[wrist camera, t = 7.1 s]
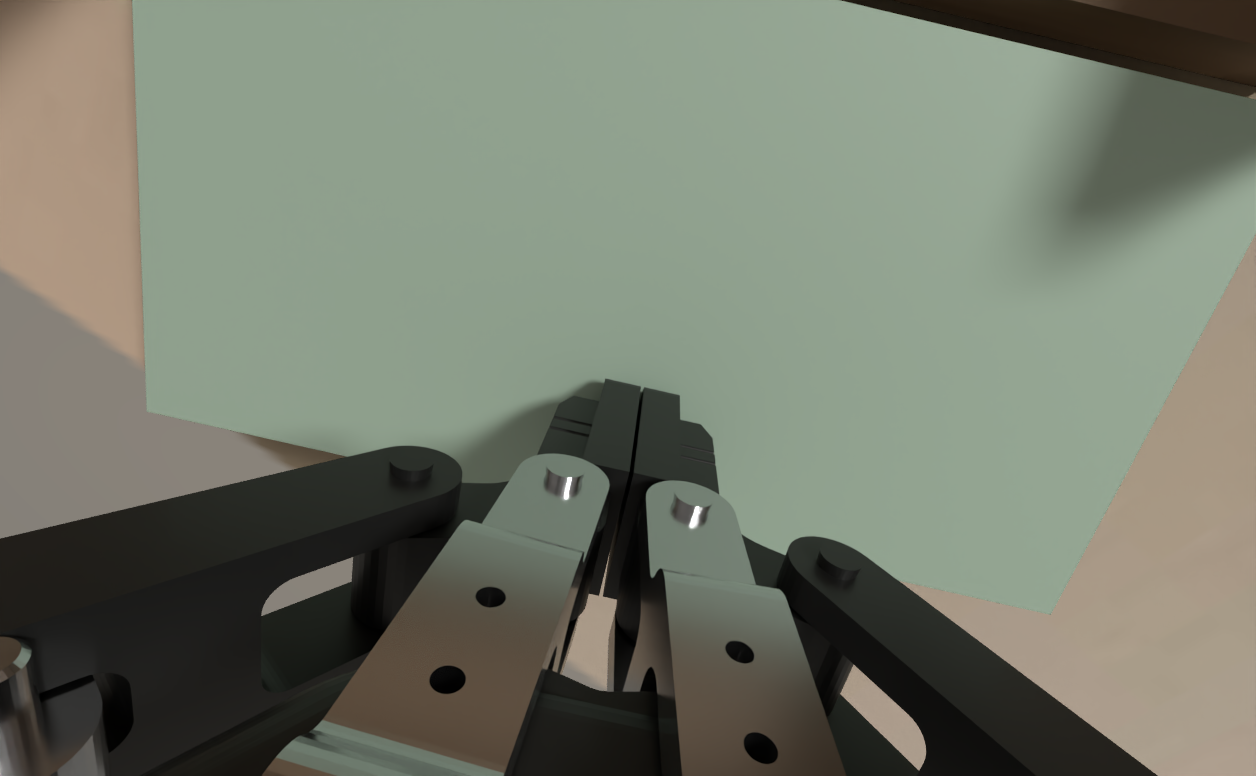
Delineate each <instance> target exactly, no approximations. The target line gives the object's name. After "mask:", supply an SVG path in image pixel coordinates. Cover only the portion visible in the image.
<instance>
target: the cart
mask: <svg viewBox="0 0 1256 776" xmlns="http://www.w3.org/2000/svg"><path fill="white" fill-rule="evenodd" d="M894 1H899V2H903V3H907V4H911V5H915V6H920V7H924V8H928V9H932V10H936V11H940V12H945V13H949V14H953V15H957V16H961V17H965V18H970V19H974V20H978V21H982V22H986V23H991V24H995V25H999V26H1003V27H1007V28H1011V29H1016V30H1020V31H1024V32H1028V33H1032V34H1037V35H1041V36H1045V37H1049V38H1053V39H1057V40H1062V41H1066V42H1070V43H1074V44H1078V45H1082V46H1087V47H1091V48H1095V49H1099V50H1103V51H1108V52H1112V53H1116V54H1120V55H1124V56H1128V57H1133V58H1137V59H1141V60H1145V61H1149V62H1153V63H1158V64H1162V65H1166V66H1170V67H1174V68H1179V69H1183V70H1187V71H1191V72H1195V73H1199V74H1204V75H1208V76H1212V77H1216V78H1220V79H1224V80H1229V81H1233V82H1237V83H1241V84H1245V85H1250V86H1254V87H1256V0H894Z"/></svg>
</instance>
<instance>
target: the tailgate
mask: <svg viewBox="0 0 1256 776" xmlns="http://www.w3.org/2000/svg"><path fill="white" fill-rule="evenodd" d="M132 10H133V38H134V66H135V95H136V123H137V151H138V180H139V208H140V236H141V265H142V293H143V321H144V349H145V378H146V404H147V405H146V406H147V412H151V413H156V414H160V415H165V416H169V417H174V418H178V419H183V420H187V421H191V422H196V423H200V424H205V425H209V426H214V427H218V428H223V429H227V430H231V431H236V432H240V433H245V434H249V435H254V436H258V437H262V438H267V439H271V440H276V441H280V442H285V443H289V444H294V445H298V446H302V447H307V448H311V449H316V450H320V451H325V452H329V453H334V454H338V455H343V456H347V457H349V456H353V455H357V454H362V453H366V452H370V451H374V450H379V449H383V448H388V447H393V446H420V447H427V448H431V449H435V450H438V451H440V452H443V453H445V454H447V455H449V456H450V457H452V458H453V459H455V460H456V461H457V462H458V463H459V465H460V466H461V469H462V482H463V483H500V482H506V481H510V479H511V478H512V476H513V474H514V473H515V471H516V470H517V468H518V467H519V465H520V464H521V463H522V462H523V461H524V460H526V459H528V458H530V457H532V456H536V455H537V454H538V451H539V449H540V447H541V444H542V442H543V440H544V437H545V435H546V433H547V430H548V428H549V426H550V423H551V421H552V419H553V417H554V414H555V412H556V410H557V407H558V405H559V403H561V402H563V401H565V400H567V399H569V398H571V397H572V396H578V397H582V398H587V399H591V400H595V401H599V399H600V396H601V392H602V389H603V385H604V382H605V379H611V380H615V381H619V382H624V383H628V384H633V385H637V386H641V390H640V398H639V403H640V399H641V395H642V392H643V388H644V387H646V388H651V389H655V390H659V391H664V392H668V393H673V394H677V395H680V420H684V421H689V422H693V423H698V424H701V425H702V426H703V427H704V429H705V430H706V431H707V432H708V433H709V435H710V436H711V437H712V438H713V445H714V454H715V462H716V463H715V466H716V470H717V478H718V486H719V495H720V496H722V497H723V498H724V499H725V500H727V501H728V502H729V503H730V505H731V506H732V507H733V509H734V511H735V513H736V516H737V520H738V524H739V527H740V531H741V534H742V535H744V536H745V537H747V538H749V539H750V540H752V541H754V542H756V543H758V544H760V545H762V546H765V547H767V548H769V549H772V550H774V551H776V552H779V553H781V554H783V555H786V553H787V550H788V547H789V545H790V544H791V542H793V541H794V540H795V539H798V538H800V537H806V536H816V537H823V538H828V539H832V540H835V541H838V542H841V543H843V544H845V545H848V546H850V547H852V548H854V549H855V550H857V551H859V552H860V553H862V554H863V555H865V556H866V557H868V558H869V559H870V560H872V561H873V562H874V563H875V564H877V565H878V566H879V567H881V568H882V569H883V570H885V571H886V572H887V573H889V574H890V575H891V576H893V577H894V578H895V579H897V580H898V581H903V582H907V583H912V584H916V585H921V586H925V587H929V588H934V589H938V590H943V591H947V592H952V593H956V594H961V595H965V596H969V597H974V598H978V599H983V600H987V601H992V602H996V603H1001V604H1005V605H1010V606H1014V607H1018V608H1023V609H1027V610H1032V611H1036V612H1041V613H1045V614H1050V615H1051V613H1052V611H1053V609H1054V607H1055V606H1056V604H1057V602H1058V600H1059V598H1060V596H1061V594H1062V592H1063V591H1064V589H1065V587H1066V585H1067V583H1068V581H1069V579H1070V578H1071V576H1072V574H1073V572H1074V570H1075V568H1076V566H1077V565H1078V563H1079V561H1080V559H1081V557H1082V555H1083V553H1084V552H1085V550H1086V548H1087V546H1088V544H1089V542H1090V540H1091V539H1092V537H1093V535H1094V533H1095V531H1096V529H1097V527H1098V526H1099V524H1100V522H1101V520H1102V518H1103V516H1104V514H1105V513H1106V511H1107V509H1108V507H1109V505H1110V503H1111V501H1112V500H1113V498H1114V496H1115V494H1116V492H1117V490H1118V488H1119V487H1120V485H1121V483H1122V481H1123V479H1124V477H1125V475H1126V474H1127V472H1128V470H1129V468H1130V466H1131V464H1132V462H1133V461H1134V459H1135V457H1136V455H1137V453H1138V451H1139V449H1140V448H1141V446H1142V444H1143V442H1144V440H1145V438H1146V436H1147V435H1148V433H1149V431H1150V429H1151V427H1152V425H1153V423H1154V422H1155V420H1156V418H1157V416H1158V414H1159V412H1160V410H1161V409H1162V407H1163V405H1164V403H1165V401H1166V399H1167V397H1168V396H1169V394H1170V392H1171V390H1172V388H1173V386H1174V384H1175V383H1176V381H1177V379H1178V377H1179V375H1180V373H1181V371H1182V370H1183V368H1184V366H1185V364H1186V362H1187V360H1188V358H1189V357H1190V355H1191V353H1192V351H1193V349H1194V347H1195V345H1196V344H1197V342H1198V340H1199V338H1200V336H1201V334H1202V332H1203V331H1204V329H1205V327H1206V325H1207V323H1208V321H1209V319H1210V318H1211V316H1212V314H1213V312H1214V310H1215V308H1216V306H1217V305H1218V303H1219V301H1220V299H1221V297H1222V295H1223V293H1224V292H1225V290H1226V288H1227V286H1228V284H1229V282H1230V280H1231V279H1232V277H1233V275H1234V273H1235V271H1236V269H1237V267H1238V266H1239V264H1240V262H1241V260H1242V258H1243V256H1244V254H1245V252H1246V251H1247V249H1248V247H1249V245H1250V243H1251V241H1252V239H1253V238H1254V236H1255V234H1256V100H1255V99H1251V98H1246V97H1242V96H1238V95H1234V94H1230V93H1225V92H1221V91H1217V90H1213V89H1209V88H1205V87H1200V86H1196V85H1192V84H1188V83H1184V82H1179V81H1175V80H1171V79H1167V78H1163V77H1159V76H1154V75H1150V74H1146V73H1142V72H1138V71H1133V70H1129V69H1125V68H1121V67H1117V66H1113V65H1108V64H1104V63H1100V62H1096V61H1092V60H1087V59H1083V58H1079V57H1075V56H1071V55H1067V54H1062V53H1058V52H1054V51H1050V50H1046V49H1041V48H1037V47H1033V46H1029V45H1025V44H1021V43H1016V42H1012V41H1008V40H1004V39H1000V38H995V37H991V36H987V35H983V34H979V33H975V32H970V31H966V30H962V29H958V28H954V27H949V26H945V25H941V24H937V23H933V22H929V21H924V20H920V19H916V18H912V17H908V16H903V15H899V14H895V13H891V12H887V11H882V10H878V9H874V8H870V7H866V6H862V5H857V4H853V3H849V2H845V1H841V0H132ZM638 407H639V405H638Z"/></svg>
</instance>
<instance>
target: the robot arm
mask: <svg viewBox="0 0 1256 776" xmlns="http://www.w3.org/2000/svg"><path fill="white" fill-rule="evenodd" d="M640 390H641V386H637V385H633V384H628V383H624V382H619V381H615V380H611V379H605V382H604V385H603V389H602V392H601V396H600V399H599V401H595V400H591V399H587V398H582V397H578V396H572V397H571V398H569V399H567V400H565V401H563V402H561V403H559V405H558V407H557V410H556V412H555V414H554V417H553V419H552V421H551V423H550V426H549V428H548V430H547V433H546V435H545V437H544V440H543V442H542V444H541V447H540V449H539V451H538V454H537V455H536V456H532V457H530V458H528V459H526V460H524V461H523V462H522V463H521V464H520V465H519V467H518V468H517V470H516V471H515V473H514V474H513V476H512V478H511V479H510V481H506V482H500V483H462V469H461V466H460V465H459V463H458V462H457V461H456V460H455V459H453V458H452V457H450V456H449V455H447V454H445V453H443V452H440V451H438V450H435V449H431V448H427V447H420V446H393V447H388V448H383V449H379V450H374V451H370V452H366V453H362V454H357V455H353V456H349V457H345V458H340V459H336V460H332V461H328V462H323V463H319V464H315V465H311V466H307V467H302V468H298V469H294V470H290V471H285V472H281V473H277V474H273V475H269V476H264V477H260V478H256V479H251V480H247V481H243V482H239V483H234V484H230V485H226V486H222V487H217V488H214V489H209V490H205V491H201V492H196V493H192V494H188V495H184V496H179V497H175V498H171V499H167V500H162V501H158V502H154V503H150V504H146V505H141V506H137V507H133V508H128V509H124V510H120V511H116V512H111V513H108V514H103V515H99V516H94V517H91V518H86V519H82V520H77V521H73V522H69V523H65V524H61V525H57V526H53V527H48V528H44V529H40V530H35V531H31V532H27V533H23V534H18V535H14V536H10V537H5V538H1V539H0V776H1157V775H1156V774H1155V773H1153V772H1152V771H1151V770H1149V769H1148V768H1147V767H1145V766H1144V765H1143V764H1141V763H1140V762H1139V761H1137V760H1136V759H1135V758H1133V757H1132V756H1131V755H1129V754H1128V753H1127V752H1125V751H1124V750H1123V749H1121V748H1120V747H1119V746H1117V745H1116V744H1115V743H1113V742H1112V741H1111V740H1110V739H1108V738H1107V737H1106V736H1104V735H1103V734H1102V733H1100V732H1099V731H1098V730H1096V729H1095V728H1094V727H1092V726H1091V725H1090V724H1088V723H1087V722H1086V721H1084V720H1083V719H1082V718H1080V717H1079V716H1078V715H1076V714H1075V713H1074V712H1072V711H1071V710H1070V709H1068V708H1067V707H1066V706H1064V705H1063V704H1062V703H1060V702H1059V701H1058V700H1056V699H1055V698H1054V697H1052V696H1051V695H1050V694H1048V693H1047V692H1046V691H1044V690H1043V689H1042V688H1040V687H1039V686H1038V685H1036V684H1035V683H1034V682H1032V681H1031V680H1030V679H1028V678H1027V677H1026V676H1024V675H1023V674H1022V673H1020V672H1019V671H1018V670H1016V669H1015V668H1014V667H1012V666H1011V665H1010V664H1008V663H1007V662H1006V661H1004V660H1003V659H1002V658H1000V657H999V656H998V655H996V654H995V653H994V652H992V651H991V650H990V649H989V648H987V647H986V646H985V645H983V644H982V643H981V642H979V641H978V640H977V639H975V638H974V637H973V636H971V635H970V634H969V633H967V632H966V631H965V630H963V629H962V628H961V627H959V626H958V625H957V624H955V623H954V622H953V621H951V620H950V619H949V618H947V617H946V616H945V615H943V614H942V613H941V612H939V611H938V610H937V609H935V608H934V607H933V606H931V605H930V604H929V603H927V602H926V601H925V600H923V599H922V598H921V597H919V596H918V595H917V594H915V593H914V592H913V591H911V590H910V589H909V588H907V587H906V586H905V585H903V584H902V583H901V582H899V581H898V580H897V579H895V578H894V577H893V576H891V575H890V574H889V573H887V572H886V571H885V570H883V569H882V568H881V567H879V566H878V565H877V564H875V563H874V562H873V561H872V560H870V559H869V558H868V557H866V556H865V555H863V554H862V553H860V552H859V551H857V550H855V549H854V548H852V547H850V546H848V545H845V544H843V543H841V542H838V541H835V540H832V539H828V538H823V537H816V536H806V537H800V538H798V539H795V540H794V541H793V542H791V544H790V545H789V547H788V550H787V553H786V555H783V554H781V553H779V552H776V551H774V550H772V549H769V548H767V547H765V546H762V545H760V544H758V543H756V542H754V541H752V540H750V539H749V538H747V537H745V536H744V535H742V534H741V531H740V527H739V524H738V520H737V516H736V513H735V511H734V509H733V507H732V506H731V505H730V503H729V502H728V501H727V500H725V499H724V498H723V497H722V496H720V495H719V486H718V478H717V470H716V466H715V463H716V462H715V454H714V445H713V438H712V437H711V436H710V435H709V433H708V432H707V431H706V430H705V429H704V427H703V426H702V425H701V424H698V423H693V422H689V421H684V420H680V395H677V394H673V393H668V392H664V391H659V390H655V389H651V388H646V387H644V388H643V392H642V395H641V399H640V403H639V398H640ZM638 405H639V407H638ZM609 552H610V554H609ZM608 556H609V561H608V567H607V574H606V580H605V586H604V593H603V596H604V597H608V598H613V599H617V605H616V611H615V615H614V618H613V622H612V626H611V630H610V634H609V642H608V675H607V691H599V690H595V689H592V688H590V687H588V686H585V685H583V684H581V683H579V682H576V681H574V680H572V679H570V678H568V677H565V676H563V675H562V673H563V669H564V666H565V663H566V660H567V657H568V653H569V650H570V647H571V644H572V641H573V637H574V634H575V631H576V626H577V622H578V618H579V615H580V614H581V613H582V612H583V610H584V609H585V606H586V603H587V599H588V594H594V595H598V596H599V593H600V589H601V585H602V581H603V577H604V573H605V569H606V565H607V560H608ZM351 557H353V571H352V582H350V583H347V584H344V585H342V586H339V587H336V588H334V589H331V590H329V591H326V592H323V593H321V594H318V595H316V596H313V597H310V598H308V599H305V600H303V601H300V602H297V603H295V604H292V605H290V606H287V607H284V608H282V609H279V610H277V611H274V612H271V613H269V614H266V615H264V616H261V612H262V608H263V605H264V604H265V601H266V600H267V598H268V597H269V596H270V595H271V594H272V592H273V591H274V590H276V589H277V588H278V587H279V586H280V585H282V584H283V583H285V582H287V581H288V580H290V579H292V578H295V577H298V576H301V575H303V574H306V573H309V572H312V571H314V570H317V569H320V568H323V567H326V566H329V565H331V564H334V563H337V562H340V561H343V560H346V559H348V558H351ZM853 664H854V665H855V666H856V667H857V668H858V669H859V670H860V671H862V672H863V673H864V674H865V675H866V676H867V677H868V678H869V679H870V680H871V681H872V682H874V683H875V684H876V685H877V686H878V687H879V688H880V689H881V690H882V691H883V692H885V693H886V694H887V695H888V696H889V697H890V698H891V699H892V700H893V701H894V702H895V703H897V704H898V705H899V706H900V707H901V708H902V709H903V710H904V711H905V712H906V713H907V714H908V715H909V716H910V717H911V718H912V719H913V720H914V721H915V722H916V724H917V725H918V727H919V729H920V730H921V732H922V735H923V737H924V740H925V744H926V758H925V761H924V763H923V765H922V767H921V769H920V771H919V770H917V769H916V768H915V767H914V766H913V765H912V764H911V763H910V762H909V761H908V760H907V759H906V758H905V757H904V756H903V755H902V754H901V753H900V752H899V751H898V750H897V749H896V748H895V747H894V746H893V745H892V744H891V743H890V742H889V741H888V740H887V739H886V738H885V737H884V736H883V735H882V734H880V733H879V732H878V731H877V730H876V729H875V728H874V727H873V726H872V725H871V724H870V723H869V722H868V721H867V720H866V719H865V718H864V717H863V716H862V715H861V714H860V713H859V712H858V711H857V710H856V709H855V708H854V707H853V706H852V705H851V704H850V703H849V702H848V701H847V700H846V699H845V698H844V697H843V696H842V695H840V693H841V691H842V689H843V686H844V684H845V682H846V680H847V678H848V675H849V673H850V671H851V669H852V667H853Z"/></svg>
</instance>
